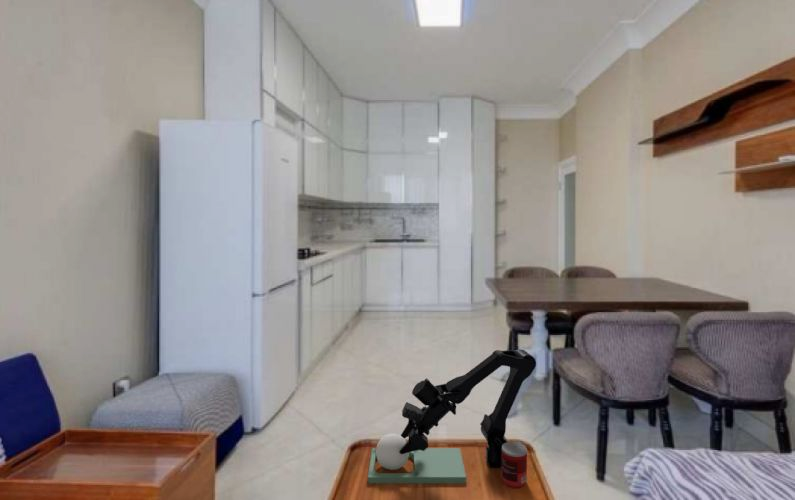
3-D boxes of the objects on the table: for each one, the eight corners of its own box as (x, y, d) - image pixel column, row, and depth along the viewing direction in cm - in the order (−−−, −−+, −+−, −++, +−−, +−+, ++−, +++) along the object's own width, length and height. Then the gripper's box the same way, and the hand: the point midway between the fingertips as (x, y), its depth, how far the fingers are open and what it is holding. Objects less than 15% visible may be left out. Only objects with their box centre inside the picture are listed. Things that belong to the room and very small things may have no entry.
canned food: (524, 474, 146) (524, 441, 145) (528, 489, 138) (529, 455, 137) (499, 473, 147) (500, 440, 146) (503, 488, 139) (503, 454, 138)
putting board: (459, 453, 158) (459, 448, 158) (466, 483, 142) (466, 477, 141) (371, 453, 159) (371, 448, 159) (367, 483, 142) (367, 477, 142)
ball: (389, 421, 155) (370, 447, 156) (388, 435, 144) (368, 463, 145) (415, 440, 156) (396, 466, 156) (416, 456, 145) (395, 483, 145)
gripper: (415, 385, 157) (384, 415, 159) (417, 409, 139) (381, 443, 140) (438, 407, 158) (407, 437, 159) (442, 433, 139) (407, 468, 141)
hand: (400, 445), depth 150 cm, fingers open, 9 cm apart
